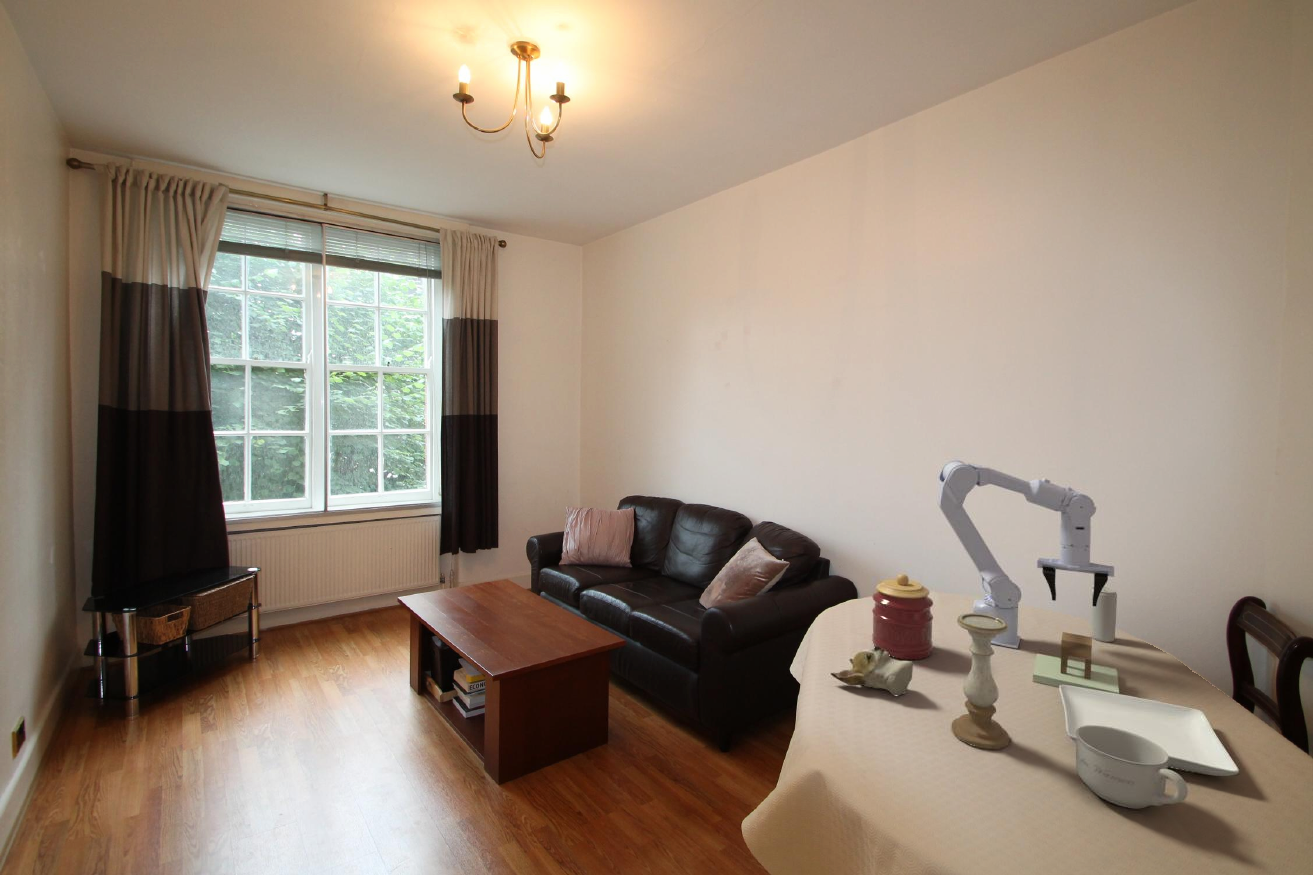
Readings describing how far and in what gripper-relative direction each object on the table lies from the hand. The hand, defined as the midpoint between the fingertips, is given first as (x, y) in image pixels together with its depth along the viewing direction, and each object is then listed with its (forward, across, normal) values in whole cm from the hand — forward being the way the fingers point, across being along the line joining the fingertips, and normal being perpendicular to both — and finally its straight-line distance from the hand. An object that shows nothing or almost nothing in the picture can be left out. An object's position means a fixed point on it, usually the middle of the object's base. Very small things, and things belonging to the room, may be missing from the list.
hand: (1073, 602), depth 140 cm
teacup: (+10, +8, -60) cm, 61 cm away
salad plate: (+11, +10, -39) cm, 42 cm away
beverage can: (+11, +6, +9) cm, 15 cm away
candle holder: (+10, -12, -53) cm, 55 cm away
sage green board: (+10, +1, -19) cm, 22 cm away
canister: (+10, -32, -23) cm, 41 cm away
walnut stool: (+9, +1, -19) cm, 21 cm away
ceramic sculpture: (+10, -32, -45) cm, 56 cm away
